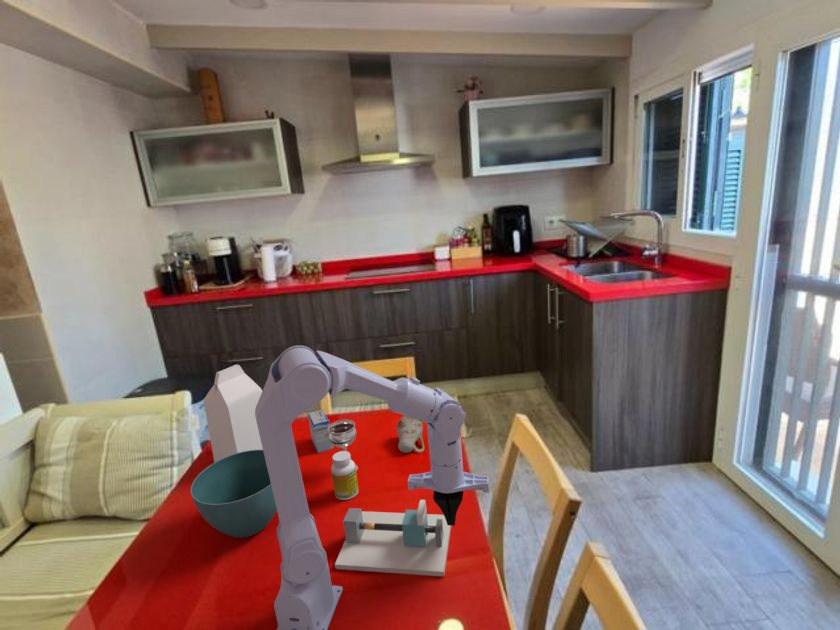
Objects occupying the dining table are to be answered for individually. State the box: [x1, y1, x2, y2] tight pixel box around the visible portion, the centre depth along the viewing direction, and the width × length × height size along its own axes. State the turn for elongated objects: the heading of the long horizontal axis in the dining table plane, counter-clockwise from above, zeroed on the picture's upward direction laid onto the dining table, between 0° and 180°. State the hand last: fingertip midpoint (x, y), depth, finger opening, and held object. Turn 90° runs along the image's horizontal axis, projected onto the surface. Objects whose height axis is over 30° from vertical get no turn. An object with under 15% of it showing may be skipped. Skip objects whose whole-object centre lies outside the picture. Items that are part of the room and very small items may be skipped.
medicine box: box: [307, 409, 334, 454], centre depth 122 cm, size 8×4×9 cm, turn 25°
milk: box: [203, 364, 263, 463], centre depth 116 cm, size 12×12×26 cm
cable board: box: [334, 507, 452, 577], centre depth 84 cm, size 14×20×6 cm
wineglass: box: [328, 419, 359, 472], centre depth 108 cm, size 7×7×12 cm
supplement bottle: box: [330, 450, 359, 501], centre depth 100 cm, size 5×5×10 cm
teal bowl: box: [190, 450, 277, 539], centre depth 93 cm, size 18×18×12 cm
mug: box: [396, 415, 425, 454], centre depth 118 cm, size 8×10×10 cm
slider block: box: [402, 499, 428, 546], centre depth 83 cm, size 4×4×7 cm
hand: (451, 521), depth 82 cm, fingers closed
